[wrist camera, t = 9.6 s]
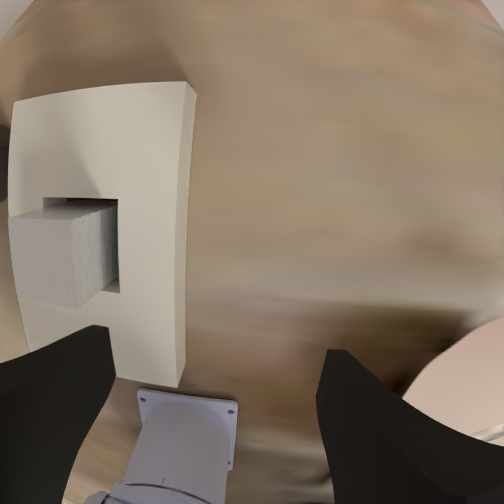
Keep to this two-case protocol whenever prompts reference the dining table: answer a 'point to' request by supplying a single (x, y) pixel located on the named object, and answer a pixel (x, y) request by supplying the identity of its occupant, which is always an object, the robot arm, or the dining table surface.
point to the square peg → (65, 251)
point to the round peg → (4, 161)
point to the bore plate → (129, 211)
